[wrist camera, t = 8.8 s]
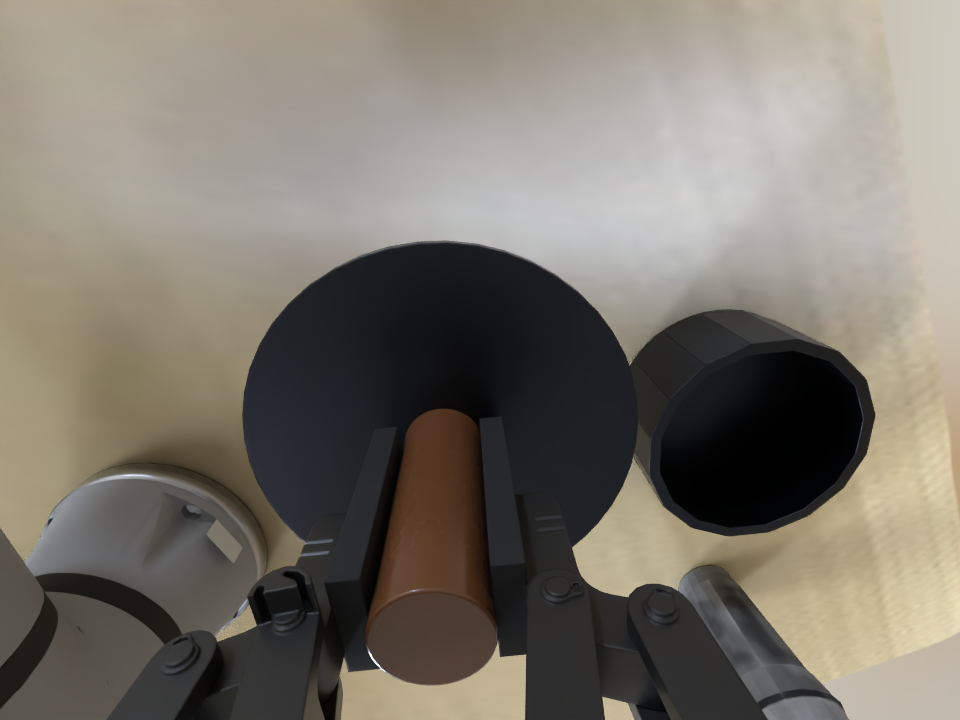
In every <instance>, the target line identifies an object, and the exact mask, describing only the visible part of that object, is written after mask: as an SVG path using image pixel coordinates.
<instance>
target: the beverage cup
mask: <svg viewBox="0 0 960 720" xmlns="http://www.w3.org/2000/svg"><path fill="white" fill-rule="evenodd" d="M679 592H680V593H682V594H683V595H684V596H685V597H686V598H687V599H688V600H689V601H690V602H691V603H692V605H693V606H694V608H695V609H696V611H697V612H698V614H699V615H700V617H701V618H702V620H703V621H704V623H705V624H706V626H707V627H708V629H709V630H710V632H711V634H712V635H713V637H714V638H715V640H716V641H717V643H718V644H719V646H720V647H721V649H722V650H723V652H724V653H725V655H726V656H727V658H728V659H729V661H730V662H731V664H732V665H733V667H734V669H735V670H736V672H737V673H738V675H739V676H740V678H741V679H742V681H743V682H744V684H745V685H746V687H747V688H748V690H749V691H750V693H751V694H752V696H753V697H754V699H755V700H756V702H757V703H758V705H759V707H760V708H761V710H762V711H763V713H764V714H765V716H766V717H767V719H768V720H849V719H848V717H847V716H846V714H845V711H844V709H843V706H842V704H841V702H840V701H838V700H837V699H836V698H835V697H833V696H832V695H831V694H830V692H829V691H828V690H827V689H826V688H825V687H824V686H823V685H822V684H821V683H820V682H819V681H818V680H817V679H816V678H815V676H813V675H812V674H811V673H810V672H809V671H808V670H807V669H806V668H805V667H804V666H803V664H802V663H801V662H800V661H799V659H798V658H797V657H796V656H795V655H794V653H793V652H792V651H791V650H790V648H789V647H788V646H787V645H786V643H785V642H784V641H783V640H782V638H781V637H780V636H779V635H778V633H777V632H776V631H775V630H774V628H773V627H772V626H771V625H770V623H769V622H768V621H767V620H766V618H765V617H764V616H763V615H762V613H761V612H760V611H759V610H758V608H757V607H756V606H755V605H754V603H753V602H752V601H751V600H750V598H749V597H748V596H747V595H746V593H745V592H744V591H743V590H742V589H741V587H740V586H739V585H738V584H736V582H735V581H734V580H733V579H732V578H731V577H730V575H729V574H728V573H727V572H726V571H725V570H724V569H723V568H720V567H717V566H709V565H708V566H702V567H698V568H696V569H694V570H692V571H690V572H689V573H687V574H686V575H685V576H684V577H683V579H682V580H681V582H680V584H679Z"/></svg>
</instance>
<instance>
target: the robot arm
mask: <svg viewBox="0 0 960 720" xmlns="http://www.w3.org/2000/svg"><path fill="white" fill-rule="evenodd" d="M480 433H481V446H482V460H483V474H484V488H485V502H486V516H487V530H488V544H489V558H490V570H491V579H492V588H493V597H494V605H495V607H496V612H497V624H498V643H499V652H500V657H504V656H514V655H525V654H526V705H525V720H605V716H604V708H603V700H602V697H606V698H610V699H614V700H618V701H622V702H626V703H628V705H629V707H630V710H631V712H632V714H633V717H634V719H635V720H768V719H767V717H766V716H765V714H764V713H763V711H762V710H761V708H760V707H759V705H758V703H757V702H756V700H755V699H754V697H753V696H752V694H751V693H750V691H749V690H748V688H747V687H746V685H745V684H744V682H743V681H742V679H741V678H740V676H739V675H738V673H737V672H736V670H735V669H734V667H733V665H732V664H731V662H730V661H729V659H728V658H727V656H726V655H725V653H724V652H723V650H722V649H721V647H720V646H719V644H718V643H717V641H716V640H715V638H714V637H713V635H712V634H711V632H710V630H709V629H708V627H707V626H706V624H705V623H704V621H703V620H702V618H701V617H700V615H699V614H698V612H697V611H696V609H695V608H694V606H693V605H692V603H691V602H690V601H689V600H688V599H687V598H686V597H685V596H684V595H683V594H682V593H680V592H679V591H677V590H675V589H673V588H672V587H668V586H665V585H661V584H646V585H643V586H640V587H638V588H636V589H635V590H634V591H633V592H632V593H631V594H630V595H629V598H628V597H622V596H617V595H611V594H608V593H604V592H601V591H599V590H597V589H595V588H593V587H592V586H591V585H589V584H588V583H587V582H586V581H585V580H584V579H583V578H582V576H581V575H580V572H579V570H578V567H577V564H576V561H575V557H574V554H573V550H572V547H571V543H570V540H569V537H568V533H567V530H566V526H565V523H564V519H563V517H562V513H561V509H560V506H559V502H558V501H557V500H556V499H555V498H554V497H553V496H552V495H551V494H550V493H549V492H548V491H547V492H537V493H527V494H516V495H515V494H514V488H513V482H512V475H511V469H510V463H509V457H508V451H507V445H506V439H505V432H504V426H503V420H502V416H501V417H491V418H481V419H480ZM401 456H402V451H401V445H400V440H399V434H398V428H397V427H391V428H381V429H375V430H374V433H373V436H372V439H371V442H370V445H369V448H368V451H367V454H366V457H365V460H364V463H363V466H362V469H361V472H360V475H359V478H358V481H357V484H356V487H355V490H354V493H353V496H352V499H351V502H350V505H349V508H348V511H347V513H338V514H327V515H323V516H322V518H321V519H320V520H319V521H318V522H317V523H316V524H315V525H314V526H313V527H312V528H311V531H310V533H309V535H308V538H307V540H306V545H304V547H303V550H302V552H301V557H299V559H298V562H297V564H296V566H289V567H283V568H280V569H277V570H274V571H272V572H270V573H268V574H267V575H265V576H263V575H264V572H265V569H266V563H267V549H266V543H265V539H264V536H263V533H262V531H261V528H260V526H259V525H258V523H257V521H256V519H255V518H254V516H253V515H252V513H251V512H250V511H249V510H248V508H247V507H246V506H245V505H244V504H243V503H242V502H241V501H240V500H239V499H238V498H237V497H236V496H234V495H233V494H232V493H231V492H229V491H228V490H227V489H225V488H224V487H222V486H221V485H219V484H217V483H216V482H214V481H212V480H210V479H208V478H206V477H204V476H202V475H200V474H197V473H195V472H192V471H189V470H186V469H182V468H178V467H175V466H169V465H163V464H154V463H137V464H127V465H121V466H117V467H113V468H110V469H107V470H104V471H102V472H99V473H97V474H95V475H93V476H92V477H90V478H88V479H87V480H86V481H84V482H83V483H82V484H81V485H79V486H78V487H77V488H76V489H75V490H73V491H72V492H71V493H70V494H69V495H67V496H66V497H65V498H64V499H63V500H61V501H60V502H59V503H58V505H57V506H56V507H55V508H54V509H53V511H52V512H51V514H50V516H49V517H48V519H47V522H46V524H45V526H44V528H43V530H42V532H41V536H40V539H39V541H38V542H37V544H36V545H35V547H34V548H33V550H32V551H31V553H30V554H29V556H28V558H27V559H26V561H25V562H24V561H23V560H22V559H21V557H20V556H19V554H18V553H17V551H16V550H15V549H14V547H13V546H12V544H11V543H10V541H9V540H8V539H7V537H6V536H5V534H4V533H3V531H2V530H1V529H0V720H341V710H342V699H343V690H342V683H341V679H340V676H339V675H340V671H341V667H342V663H343V658H345V662H346V665H347V669H348V672H353V671H364V670H374V669H381V668H380V667H379V666H378V665H377V664H376V663H375V662H374V661H373V659H372V658H371V656H370V654H369V652H368V649H367V646H366V641H365V630H366V625H367V620H368V616H369V611H370V606H371V601H372V596H373V591H374V586H375V582H376V577H377V572H378V567H379V562H380V557H381V553H382V548H383V543H384V538H385V533H386V528H387V524H388V519H389V514H390V509H391V504H392V499H393V495H394V490H395V485H396V480H397V475H398V470H399V466H400V461H401ZM249 604H250V607H251V610H252V613H253V615H254V618H255V621H256V624H257V626H256V627H254V628H252V629H250V630H248V631H246V632H244V633H241V634H238V635H236V636H233V637H230V638H227V639H225V640H222V641H219V642H217V640H216V638H215V636H216V635H217V634H218V633H219V632H220V631H221V630H223V629H224V628H225V627H227V626H228V625H229V624H231V623H232V622H233V621H234V620H235V619H236V618H237V617H238V616H240V615H241V613H242V612H243V611H244V610H245V609H246V608H247V606H248V605H249Z"/></svg>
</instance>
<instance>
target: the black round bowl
mask: <svg viewBox="0 0 960 720" xmlns="http://www.w3.org/2000/svg"><path fill="white" fill-rule="evenodd" d="M630 369H631V372H632V375H633V379H634V384H635V389H636V394H637V399H638V421H639V422H638V432H637V442H636V447H635V451H634V455H633V457H634V459H635V460H636V462H637V464H638V465H639V467H640V469H641V470H642V472H643V474H644V475H645V477H646V479H647V480H648V482H649V483H650V485H651V487H652V488H653V490H654V492H655V493H656V495H657V497H658V498H659V500H660V502H661V503H662V505H663V506H664V507H665V508H666V509H667V510H669V511H670V512H671V513H672V514H674V515H675V516H676V517H678V518H679V519H680V520H682V521H683V522H684V523H686V524H687V525H688V526H690V527H692V528H695V529H699V530H703V531H707V532H712V533H716V534H720V535H724V536H738V535H747V534H757V533H767V532H771V531H773V530H776V529H778V528H780V527H783V526H785V525H788V524H790V523H793V522H795V521H797V520H800V519H802V518H805V517H807V516H808V515H810V514H812V513H813V512H814V511H815V510H817V509H818V508H819V507H820V506H822V505H823V504H824V503H825V502H827V501H828V500H829V499H830V498H832V497H833V496H834V495H835V494H837V493H838V492H839V491H841V490H842V489H843V488H844V487H845V485H846V484H847V482H848V481H849V479H850V478H851V476H852V475H853V473H854V472H855V470H856V469H857V468H858V466H859V465H860V463H861V462H862V460H863V459H864V457H865V456H866V453H867V450H868V446H869V441H870V437H871V433H872V428H873V424H874V419H875V411H874V407H873V403H872V399H871V395H870V391H869V387H868V383H867V380H866V379H865V377H864V376H863V375H862V374H861V373H860V372H859V371H858V370H857V369H856V368H855V367H854V366H853V365H852V364H851V363H850V362H849V361H848V360H847V359H846V358H845V357H844V356H843V355H842V354H841V353H840V352H839V351H837V350H835V349H833V348H831V347H829V346H827V345H825V344H823V343H821V342H819V341H816V340H814V339H812V338H810V337H808V336H806V335H804V334H802V333H800V332H798V331H796V330H793V329H791V328H789V327H787V326H785V325H783V324H781V323H779V322H777V321H774V320H771V319H768V318H765V317H762V316H759V315H757V314H754V313H750V312H746V311H743V310H715V311H709V312H703V313H700V314H696V315H693V316H690V317H688V318H685V319H683V320H681V321H678V322H677V323H675V324H673V325H671V326H669V327H668V328H666V329H665V330H663V331H662V332H661V333H659V334H658V335H656V336H655V337H654V338H653V339H652V340H651V341H650V342H649V343H647V344H646V346H645V347H644V348H643V349H642V350H641V351H640V352H639V353H638V355H637V356H636V358H635V359H634V361H633V362H632V363H631V365H630Z"/></svg>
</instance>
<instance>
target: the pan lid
mask: <svg viewBox="0 0 960 720" xmlns="http://www.w3.org/2000/svg"><path fill="white" fill-rule="evenodd" d="M501 416H502V420H503V426H504V432H505V439H506V445H507V451H508V457H509V463H510V469H511V475H512V482H513V488H514V494H515V495H516V494H527V493H537V492H547V491H548V492H549V493H550V494H551V495H552V496H553V497H554V498H555V499H556V500H557V501H558V502H559V506H560V509H561V513H562V517H563V519H564V523H565V526H566V530H567V533H568V537H569V540H570V543H571V547H573V546H574V545H575V544H577V543H578V542H579V541H580V540H582V539H583V538H584V537H585V536H586V535H587V534H588V533H589V532H590V531H591V530H592V529H593V528H594V527H595V526H596V525H597V524H598V523H599V521H600V520H601V519H602V517H603V516H604V515H605V513H606V512H607V511H608V509H609V508H610V507H611V506H612V504H613V502H614V500H615V499H616V497H617V495H618V493H619V492H620V490H621V488H622V486H623V484H624V482H625V479H626V477H627V474H628V472H629V469H630V467H631V463H632V459H633V455H634V451H635V447H636V442H637V432H638V422H639V421H638V399H637V394H636V389H635V384H634V379H633V375H632V372H631V369H630V367H629V364H628V361H627V358H626V355H625V353H624V351H623V349H622V347H621V346H620V344H619V342H618V340H617V338H616V336H615V334H614V333H613V331H612V330H611V328H610V327H609V326H608V324H607V323H606V322H605V320H604V319H603V318H602V316H601V315H600V314H599V312H598V311H597V310H596V309H595V308H594V307H593V306H592V305H591V304H590V303H589V302H588V301H587V300H586V299H585V298H584V297H583V296H582V295H581V294H580V293H579V292H578V291H577V290H576V289H574V288H573V287H572V286H570V285H569V284H568V283H566V282H565V281H564V280H562V279H561V278H560V277H558V276H557V275H556V274H554V273H552V272H551V271H549V270H547V269H545V268H543V267H542V266H540V265H538V264H536V263H534V262H532V261H531V260H528V259H525V258H523V257H520V256H518V255H515V254H513V253H510V252H507V251H505V250H501V249H497V248H492V247H488V246H484V245H480V244H475V243H465V242H455V241H421V242H413V243H407V244H401V245H395V246H389V247H386V248H382V249H379V250H376V251H373V252H370V253H366V254H363V255H360V256H358V257H356V258H354V259H352V260H350V261H348V262H346V263H344V264H341V265H339V266H337V267H335V268H334V269H332V270H331V271H329V272H328V273H326V274H325V275H323V276H322V277H320V278H319V279H317V280H316V281H314V282H313V283H311V284H310V285H309V286H308V287H306V288H305V289H304V290H303V291H302V292H301V293H300V294H299V295H298V296H296V297H295V298H294V299H293V300H292V301H291V302H290V303H289V304H288V305H287V306H286V307H285V309H284V310H283V311H282V312H281V313H280V315H279V316H278V317H277V318H276V319H275V321H274V322H273V323H272V324H271V326H270V328H269V329H268V331H267V333H266V334H265V336H264V338H263V339H262V341H261V343H260V344H259V347H258V349H257V351H256V354H255V356H254V359H253V361H252V364H251V366H250V369H249V373H248V378H247V382H246V386H245V390H244V401H243V414H242V417H243V430H244V440H245V445H246V449H247V453H248V457H249V462H250V464H251V467H252V469H253V472H254V474H255V477H256V480H257V482H258V484H259V486H260V488H261V489H262V491H263V493H264V495H265V497H266V498H267V500H268V502H269V503H270V505H271V506H272V507H273V509H274V510H275V511H276V513H277V514H278V515H279V517H280V518H281V519H282V521H283V522H284V523H285V524H286V525H287V526H288V527H289V528H290V529H291V530H292V531H293V532H294V533H295V534H296V535H297V536H298V537H299V538H300V539H301V540H303V541H304V542H305V543H306V540H307V538H308V535H309V533H310V531H311V528H312V527H313V526H314V525H315V524H316V523H317V522H318V521H319V520H320V519H321V518H322V516H323V515H327V514H338V513H347V511H348V508H349V505H350V502H351V499H352V496H353V493H354V490H355V487H356V484H357V481H358V478H359V475H360V472H361V469H362V466H363V463H364V460H365V457H366V454H367V451H368V448H369V445H370V442H371V439H372V436H373V433H374V430H375V429H381V428H391V427H397V428H398V434H399V440H400V445H401V451H402V456H401V461H400V466H399V470H398V475H397V480H396V485H395V490H394V495H393V499H392V504H391V509H390V514H389V519H388V524H387V528H386V533H385V538H384V543H383V548H382V553H381V557H380V562H379V567H378V572H377V577H376V582H375V586H374V591H373V596H372V601H371V606H370V611H369V616H368V620H367V625H366V630H365V641H366V646H367V649H368V652H369V654H370V656H371V658H372V659H373V661H374V662H375V663H376V664H377V665H378V666H379V667H380V668H381V669H382V670H383V671H385V672H386V673H387V674H389V675H391V676H393V677H395V678H397V679H399V680H402V681H405V682H408V683H413V684H419V685H443V684H449V683H453V682H457V681H460V680H463V679H465V678H467V677H469V676H471V675H473V674H474V673H476V672H477V671H479V670H480V669H481V668H483V667H484V666H485V665H486V664H487V662H488V661H489V660H490V658H491V657H492V655H493V653H494V651H495V648H496V646H497V642H498V624H497V612H496V607H495V605H494V597H493V588H492V579H491V570H490V558H489V544H488V530H487V516H486V502H485V488H484V474H483V460H482V446H481V433H480V419H481V418H491V417H501Z"/></svg>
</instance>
